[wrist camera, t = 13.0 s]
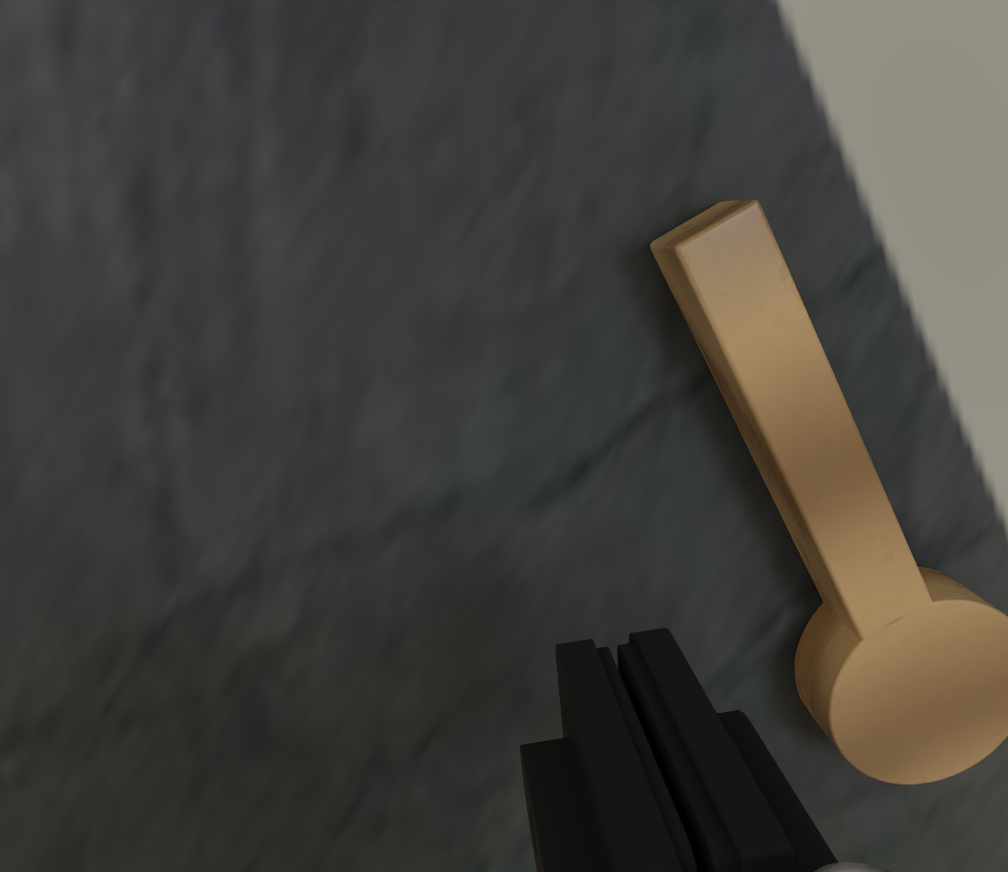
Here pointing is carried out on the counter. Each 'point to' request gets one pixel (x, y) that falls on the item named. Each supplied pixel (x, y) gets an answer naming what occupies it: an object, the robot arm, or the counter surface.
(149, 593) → the counter surface
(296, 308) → the counter surface
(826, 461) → the spoon
